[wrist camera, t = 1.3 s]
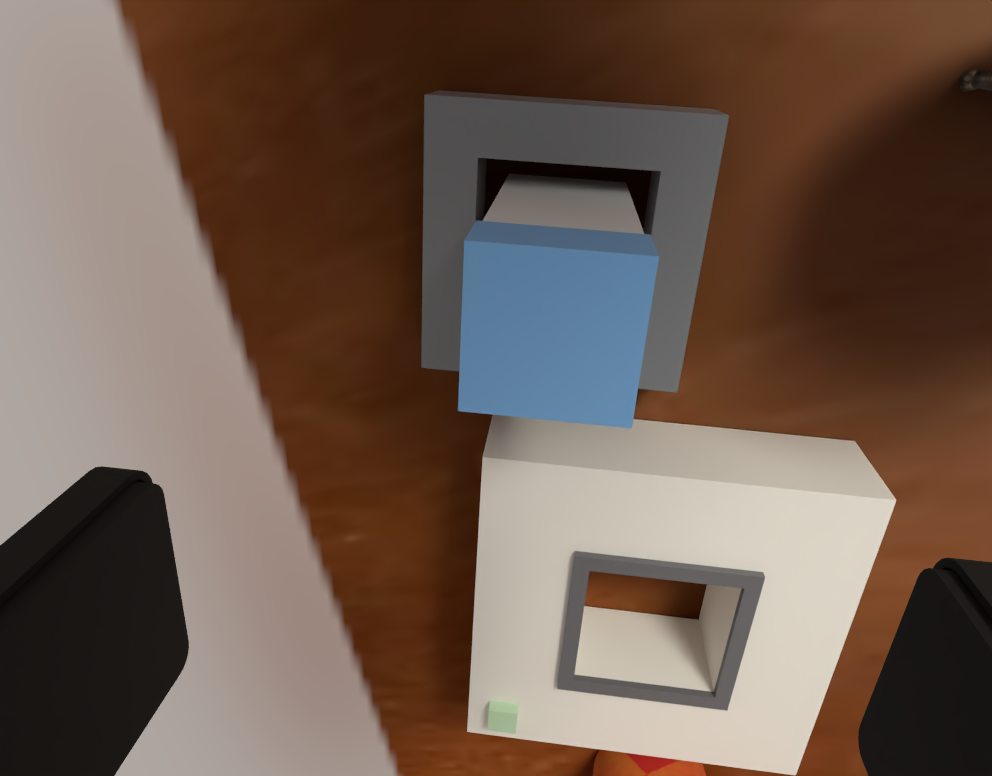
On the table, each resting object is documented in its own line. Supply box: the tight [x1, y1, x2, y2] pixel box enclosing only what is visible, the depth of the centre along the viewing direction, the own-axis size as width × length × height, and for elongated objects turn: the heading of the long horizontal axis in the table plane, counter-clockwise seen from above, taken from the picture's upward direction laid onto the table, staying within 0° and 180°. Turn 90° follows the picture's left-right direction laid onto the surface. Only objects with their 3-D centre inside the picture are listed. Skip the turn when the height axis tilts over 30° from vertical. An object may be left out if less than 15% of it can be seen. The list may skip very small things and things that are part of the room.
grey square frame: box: [421, 90, 729, 392], centre depth 24 cm, size 9×9×2 cm
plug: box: [458, 174, 659, 428], centre depth 21 cm, size 4×4×10 cm
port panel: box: [467, 415, 896, 775], centre depth 29 cm, size 14×14×4 cm
